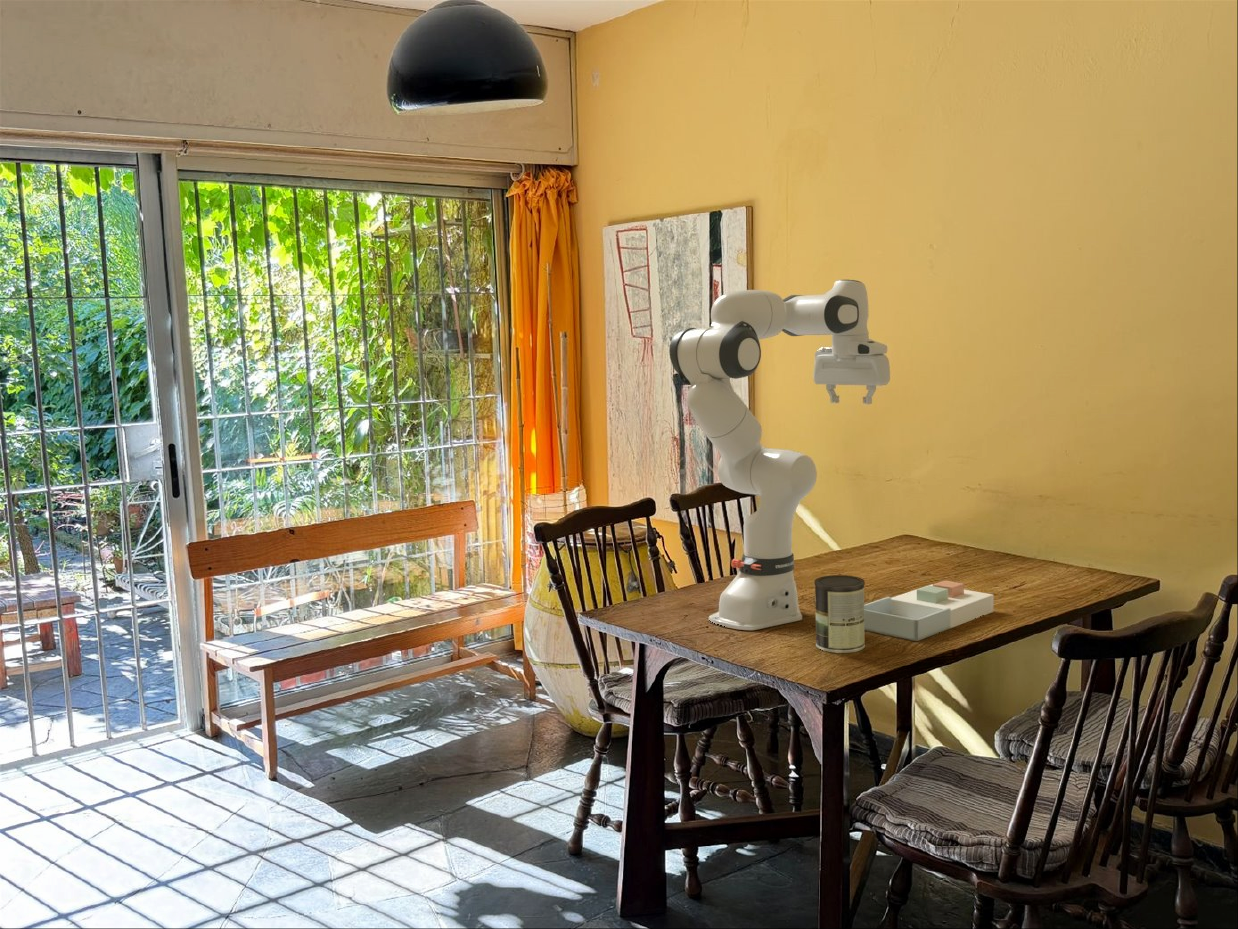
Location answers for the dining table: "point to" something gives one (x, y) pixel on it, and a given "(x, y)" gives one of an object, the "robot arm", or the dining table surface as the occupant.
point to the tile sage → (932, 594)
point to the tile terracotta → (951, 588)
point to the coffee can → (839, 613)
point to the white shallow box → (944, 606)
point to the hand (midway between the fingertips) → (850, 403)
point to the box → (903, 621)
